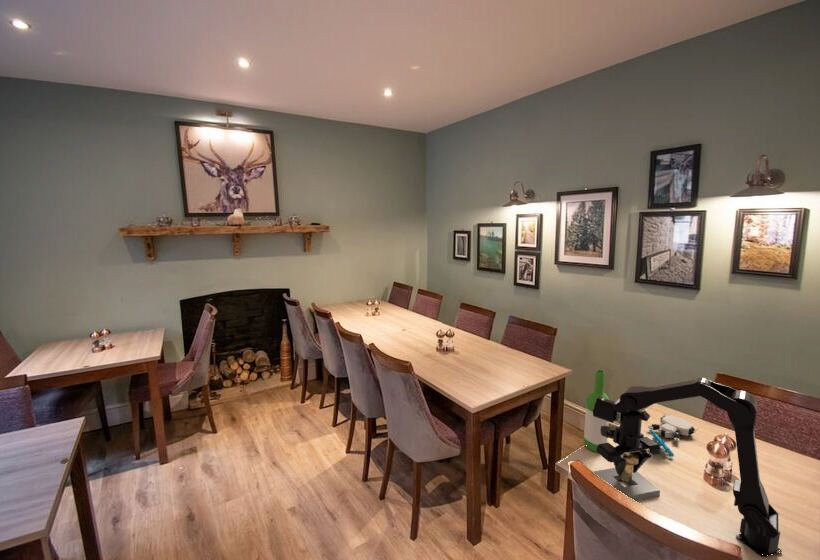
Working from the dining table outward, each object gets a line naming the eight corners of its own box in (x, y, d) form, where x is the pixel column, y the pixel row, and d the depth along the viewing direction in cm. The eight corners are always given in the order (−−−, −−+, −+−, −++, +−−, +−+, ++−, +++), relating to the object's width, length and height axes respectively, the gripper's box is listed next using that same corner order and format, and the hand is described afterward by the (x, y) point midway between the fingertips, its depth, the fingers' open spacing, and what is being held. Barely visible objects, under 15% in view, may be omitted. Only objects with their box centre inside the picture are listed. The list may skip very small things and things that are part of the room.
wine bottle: (591, 438, 143) (596, 365, 138) (610, 448, 136) (617, 372, 132) (579, 445, 139) (584, 370, 134) (599, 456, 132) (604, 377, 127)
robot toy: (679, 449, 137) (699, 435, 144) (679, 438, 136) (700, 424, 143) (645, 433, 148) (666, 420, 155) (645, 422, 147) (666, 410, 154)
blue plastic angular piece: (679, 459, 127) (656, 435, 130) (664, 468, 129) (642, 444, 131) (669, 445, 138) (648, 423, 140) (656, 454, 139) (635, 432, 142)
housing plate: (659, 495, 113) (660, 490, 112) (620, 503, 110) (620, 497, 110) (628, 470, 124) (629, 465, 124) (592, 476, 121) (593, 471, 121)
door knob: (641, 482, 114) (643, 459, 113) (624, 485, 113) (627, 461, 112) (626, 470, 120) (628, 447, 119) (610, 472, 119) (612, 450, 118)
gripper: (634, 411, 124) (631, 453, 126) (586, 418, 120) (583, 461, 122) (663, 429, 113) (659, 475, 115) (611, 437, 109) (607, 484, 111)
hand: (626, 473), depth 116 cm, fingers closed on door knob, 5 cm apart
